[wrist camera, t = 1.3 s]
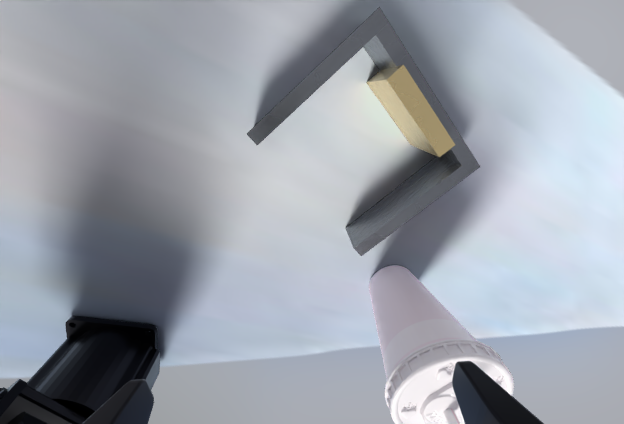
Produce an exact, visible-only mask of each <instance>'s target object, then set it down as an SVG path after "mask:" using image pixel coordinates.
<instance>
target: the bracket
mask: <svg viewBox="0 0 624 424" xmlns="http://www.w3.org/2000/svg"><path fill="white" fill-rule="evenodd" d="M362 47H364V48H365V50H366V51H367V53H368V54H369V56H370V57H371V59H372V60H373V62H374V63H375V65H376V66H377V67H378V69H379V70H380V71H379V72H378V73H377V74H376V75H375V76H373V77H372V78H371V79H370V80H369V81H368V82H367V84H368V85H369V87H370V88H371V90H372V91H373V92H374V94H375V95H376V97H377V98H378V99H379V101H380V102H381V104H382V105H383V106H384V108H385V109H386V111H387V112H388V113H389V115H390V116H391V118H392V119H393V120H394V122H395V123H396V125H397V126H398V127H399V129H400V130H401V132H402V133H403V134H404V136H405V137H406V139H407V140H408V142H409V143H410V144H411V145H412V146H414V147H416V148H419V149H421V150H423V151H426V152H428V153H430V154H433V155H435V156H437V157H435V158H434V159H433V160H431V161H430V162H429V163H428V164H426V165H425V166H424V167H423V168H421V169H420V170H419V171H417V172H416V173H415V174H414V175H412V176H411V177H410V178H409V179H407V180H406V181H405V182H404V183H402V184H401V185H400V186H398V187H397V188H396V189H395V190H393V191H392V192H391V193H390V194H388V195H387V196H386V197H384V198H383V199H382V200H381V201H379V202H378V203H377V204H376V205H374V206H373V207H372V208H370V209H369V210H368V211H367V212H365V213H364V214H363V215H362V216H360V217H359V218H358V219H357V220H355V221H354V222H353V223H351V224H350V225H349V226H348V227H346V230H347V233H348V235H349V238H350V240H351V243H352V245H353V248H354V249H355V250H356V251H357V252H358V253H359V254H360V255H361V256H362V255H364V254H365V253H366V252H368V251H369V250H370V249H371V248H373V247H374V246H375V245H377V244H378V243H379V242H381V241H382V240H383V239H385V238H386V237H387V236H389V235H390V234H391V233H393V232H394V231H395V230H397V229H398V228H399V227H401V226H402V225H403V224H405V223H406V222H407V221H409V220H410V219H411V218H413V217H414V216H415V215H417V214H418V213H419V212H421V211H422V210H423V209H425V208H426V207H427V206H429V205H430V204H431V203H433V202H434V201H435V200H437V199H438V198H439V197H441V196H442V195H443V194H445V193H446V192H447V191H449V190H450V189H451V188H453V187H454V186H455V185H457V184H458V183H459V182H461V181H462V180H463V179H465V178H466V177H467V176H469V175H470V174H471V173H473V172H474V171H475V170H477V169H478V168H479V167H480V166H479V164H478V163H477V161H476V159H475V158H474V156H473V155H472V153H471V151H470V150H469V148H468V147H467V145H466V144H465V142H464V140H463V139H462V137H461V136H460V134H459V132H458V131H457V129H456V128H455V126H454V125H453V123H452V121H451V120H450V118H449V117H448V115H447V113H446V112H445V110H444V109H443V107H442V106H441V104H440V102H439V101H438V99H437V98H436V96H435V94H434V93H433V91H432V90H431V88H430V87H429V85H428V83H427V82H426V80H425V79H424V77H423V75H422V74H421V72H420V71H419V69H418V67H417V66H416V64H415V63H414V61H413V60H412V58H411V56H410V55H409V53H408V52H407V50H406V48H405V47H404V45H403V44H402V42H401V41H400V39H399V37H398V36H397V34H396V33H395V31H394V29H393V28H392V26H391V25H390V23H389V22H388V20H387V18H386V17H385V15H384V14H383V12H382V10H381V9H380V7H379V8H378V9H377V10H376V11H375V12H374V13H373V14H372V15H371V16H370V17H369V18H368V19H367V20H366V21H364V22H363V23H362V24H361V25H360V26H359V27H358V28H357V29H356V30H355V31H354V32H353V33H352V34H351V35H350V36H349V37H348V38H347V39H346V40H345V41H344V42H342V43H341V44H340V45H339V46H338V47H337V48H336V49H335V50H334V51H333V52H332V53H331V54H330V55H329V56H328V57H327V58H326V59H325V60H324V61H323V62H321V63H320V64H319V65H318V66H317V67H316V68H315V69H314V70H313V71H312V72H311V73H310V74H309V75H308V76H307V77H306V78H305V79H304V80H303V81H302V82H301V83H299V84H298V85H297V86H296V87H295V88H294V89H293V90H292V91H291V92H290V93H289V94H288V95H287V96H286V97H285V98H284V99H283V100H282V101H281V102H280V103H278V104H277V105H276V106H275V107H274V108H273V109H272V110H271V111H270V112H269V113H268V114H267V115H266V116H265V117H264V118H263V119H262V120H261V121H260V122H259V123H258V124H256V125H255V126H254V127H253V128H252V129H251V130H250V131H249V132H248V133H247V135H248V136H249V137H250V138H251V139H252V140H253V141H254V142H255V143H256V145H258V144H259V143H260V142H261V141H263V140H264V139H265V138H266V137H267V136H268V135H269V134H270V133H271V132H272V131H273V130H274V129H275V128H276V127H278V126H279V125H280V124H281V123H282V122H283V121H284V120H285V119H286V118H287V117H288V116H289V115H290V114H291V113H293V112H294V111H295V110H296V109H297V108H298V107H299V106H300V105H301V104H302V103H303V102H304V101H305V100H307V99H308V98H309V97H310V96H311V95H312V94H313V93H314V92H315V91H316V90H317V89H318V88H319V87H320V86H322V85H323V84H324V83H325V82H326V81H327V80H328V79H329V78H330V77H331V76H332V75H333V74H334V73H335V72H337V71H338V70H339V69H340V68H341V67H342V66H343V65H344V64H345V63H346V62H347V61H348V60H349V59H350V58H352V57H353V56H354V55H355V54H356V53H357V52H358V51H359V50H360V49H361V48H362Z"/></svg>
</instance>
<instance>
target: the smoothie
mask: <svg viewBox="0 0 624 424" xmlns="http://www.w3.org/2000/svg"><path fill="white" fill-rule="evenodd" d="M369 292H370V297H371V302H372V307H373V312H374V317H375V322H376V327H377V332H378V337H379V342H380V347H381V351H382V356H383V361H384V367H385V372H386V377H387V382H386V386H385V399H386V403H387V406H388V407H389V408H390V412H391V416H392V419H393V421H394V422H395V424H465V422H464V419H463V416H462V413H461V410H460V407H459V404H458V401H457V398H456V396H455V393H454V390H453V386H452V378H453V373H454V368H455V364H456V363H457V362H458V361H471V362H473V363H474V364H476V365H477V366H478V367H479V368H480V369H481V370H483V371H484V372H485V373H486V374H487V375H488V376H490V377H491V378H492V379H493V380H494V381H495V382H496V383H498V384H499V385H500V386H501V387H502V388H503V389H504V390H506V391H507V392H508V393H509V394H510V395H511V396H512V394H513V390H514V381H513V377H512V375H511V372H510V371H509V370H508V368H507V367H506V366H505V365H504V364H503V362H502V360H501V358H500V355H499V354H498V353H496V352H495V351H494V350H493V349H492V348H491V347H490V346H488V345H485V344H483V343H481V342H479V341H477V340H476V339H475V338H474V337H473V336H472V335H471V334H470V333H469V332H468V331H467V330H466V328H464V327H463V326H462V325H461V324H460V323H459V322H458V321H457V320H456V318H455V317H454V316H453V315H452V314H451V313H450V312H449V311H448V310H447V309H446V308H445V307H444V306H443V305H442V304H441V303H440V302H439V301H438V300H437V299H436V298H435V297H434V296H433V295H432V294H431V293H430V291H429V290H428V289H427V288H426V287H425V286H424V285H423V284H422V283H421V282H420V281H419V280H418V279H417V278H416V277H415V276H414V275H413V274H412V273H411V272H410V271H409V270H408V269H407V268H405V267H403V266H398V265H391V266H387V267H384V268H382V269H380V270H379V271H377V272H376V273H375V274H374V275H373V277H372V278H371V280H370V283H369Z"/></svg>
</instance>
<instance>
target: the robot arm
mask: <svg viewBox="0 0 624 424" xmlns="http://www.w3.org/2000/svg"><path fill="white" fill-rule="evenodd" d="M149 331H151V332H149ZM66 333H67V340H66V341H65V342H64V343H63V344H62V345H61V346H60V347H59V348H58V349H57V350H56V352H55V353H54V354H53V355H52V356H51V357H50V358H49V359H48V360H47V361H46V362H45V364H44V365H43V366H42V367H41V368H40V369H39V370H38V371H37V372H36V373H35V375H34V376H33V377H32V378H31V379H30V380H29V381H28V382H27V383H26V382H25V381H23V380H21V379H19V380H17V381H16V382H15V383H14V384H13V385H11V386H10V387H9V388H8V389H6V388H4V387H3V388H0V424H148V421H149V418H150V414H151V411H152V408H153V403H154V402H153V401H154V397H153V394H152V392H151V389H152V387H153V385H154V382H155V380H156V378H157V376H158V374H159V367H160V351H159V349H157V328H156V327H155V326H154V325H150V324H141V323H132V322H123V321H114V320H105V319H96V318H87V317H78V316H73V317H71V318H70V319H69V320H68V321H67V322H66ZM452 386H453V390H454V393H455V396H456V398H457V401H458V404H459V407H460V410H461V413H462V416H463V419H464V422H465V424H544V423H543V422H541V421H540V420H539V419H538V418H537V417H536V416H534V415H533V414H532V413H531V412H530V411H529V410H528V409H526V408H525V407H524V406H523V405H522V404H520V403H519V402H518V401H517V400H516V399H515V398H514V397H513V396H511V395H510V394H509V393H508V392H507V391H506V390H504V389H503V388H502V387H501V386H500V385H499V384H498V383H496V382H495V381H494V380H493V379H492V378H491V377H490V376H488V375H487V374H486V373H485V372H484V371H483V370H481V369H480V368H479V367H478V366H477V365H476V364H474V363H473V362H471V361H458V362H457V363H456V364H455V368H454V373H453V378H452Z"/></svg>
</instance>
